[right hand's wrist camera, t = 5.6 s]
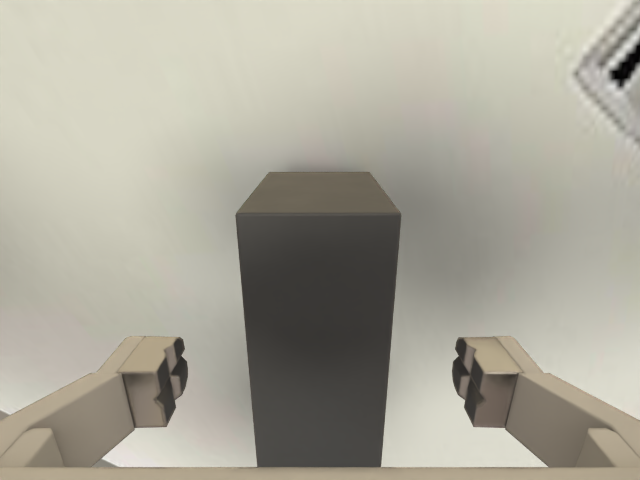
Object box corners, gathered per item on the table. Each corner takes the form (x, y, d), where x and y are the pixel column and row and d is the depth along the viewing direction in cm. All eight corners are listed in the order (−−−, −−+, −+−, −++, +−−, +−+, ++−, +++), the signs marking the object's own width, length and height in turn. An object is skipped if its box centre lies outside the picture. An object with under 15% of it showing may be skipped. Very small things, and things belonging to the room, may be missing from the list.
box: (268, 171, 21) (234, 213, 13) (370, 171, 21) (401, 212, 13) (283, 465, 29) (268, 605, 21) (356, 465, 29) (370, 605, 21)
